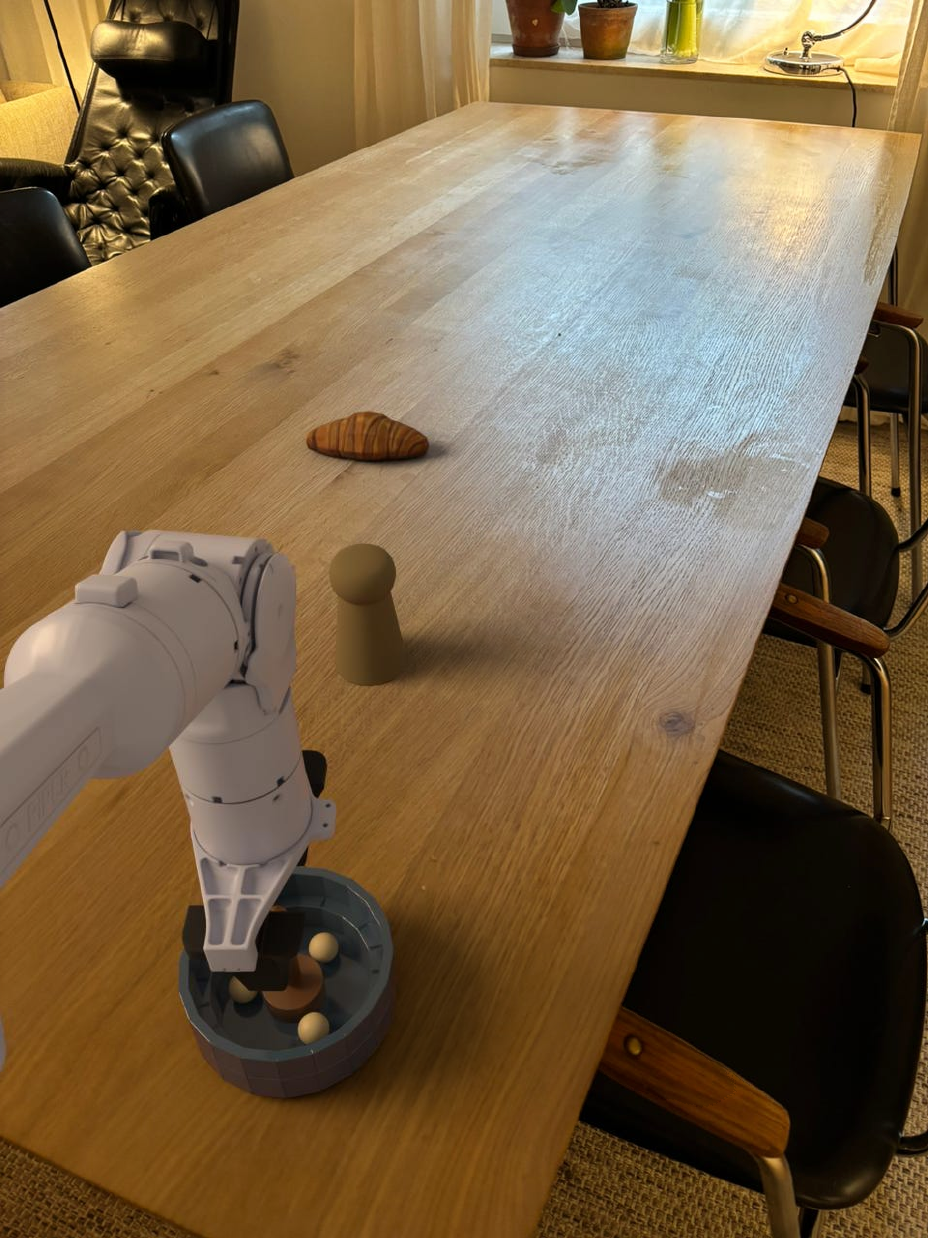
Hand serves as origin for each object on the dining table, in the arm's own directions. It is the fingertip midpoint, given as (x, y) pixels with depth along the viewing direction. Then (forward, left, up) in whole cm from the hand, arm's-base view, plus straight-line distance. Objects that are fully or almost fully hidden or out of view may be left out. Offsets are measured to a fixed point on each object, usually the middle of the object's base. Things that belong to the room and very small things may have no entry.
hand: (278, 920), depth 55 cm
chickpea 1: (-3, +1, -7) cm, 8 cm away
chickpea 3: (0, -3, -7) cm, 8 cm away
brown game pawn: (+17, +25, -9) cm, 31 cm away
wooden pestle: (0, 0, -8) cm, 8 cm away
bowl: (0, 0, -9) cm, 9 cm away
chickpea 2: (+3, +1, -7) cm, 8 cm away
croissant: (+31, +55, -9) cm, 64 cm away
